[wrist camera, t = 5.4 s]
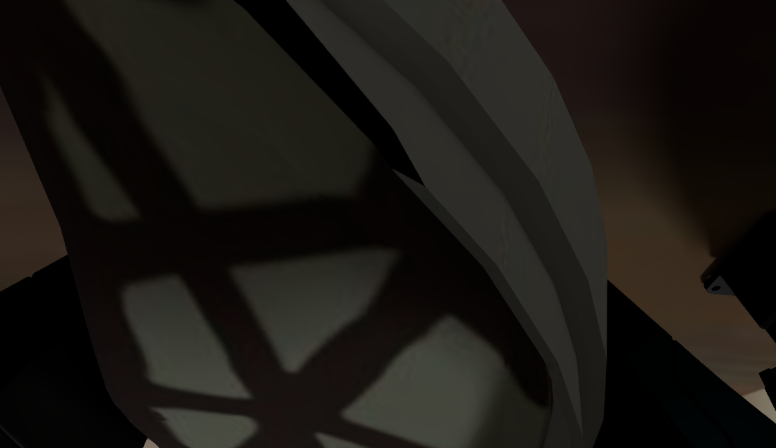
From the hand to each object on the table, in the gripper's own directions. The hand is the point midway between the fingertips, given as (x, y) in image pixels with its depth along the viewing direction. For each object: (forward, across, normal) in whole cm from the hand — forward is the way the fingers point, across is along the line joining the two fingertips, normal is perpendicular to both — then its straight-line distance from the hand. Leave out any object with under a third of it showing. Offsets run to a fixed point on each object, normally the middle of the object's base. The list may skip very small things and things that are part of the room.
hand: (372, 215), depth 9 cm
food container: (+5, -1, 0) cm, 5 cm away
